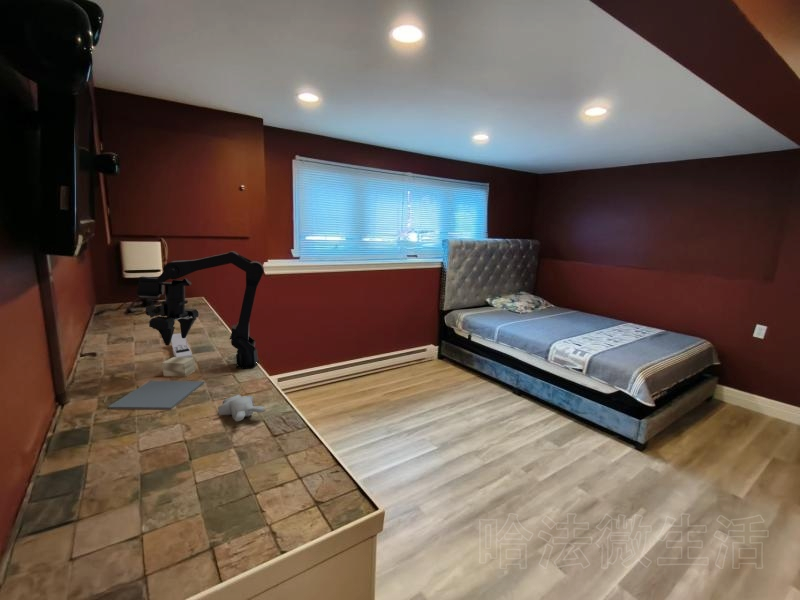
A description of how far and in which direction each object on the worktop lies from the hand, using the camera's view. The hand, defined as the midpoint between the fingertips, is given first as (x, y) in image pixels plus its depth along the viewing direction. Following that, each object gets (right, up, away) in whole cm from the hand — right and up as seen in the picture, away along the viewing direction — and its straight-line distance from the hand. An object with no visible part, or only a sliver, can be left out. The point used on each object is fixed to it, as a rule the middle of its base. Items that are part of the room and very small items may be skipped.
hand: (175, 341), depth 127 cm
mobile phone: (-11, -8, +22) cm, 25 cm away
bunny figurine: (+34, -18, -26) cm, 47 cm away
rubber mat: (+4, -15, -15) cm, 21 cm away
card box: (0, -12, +2) cm, 12 cm away
